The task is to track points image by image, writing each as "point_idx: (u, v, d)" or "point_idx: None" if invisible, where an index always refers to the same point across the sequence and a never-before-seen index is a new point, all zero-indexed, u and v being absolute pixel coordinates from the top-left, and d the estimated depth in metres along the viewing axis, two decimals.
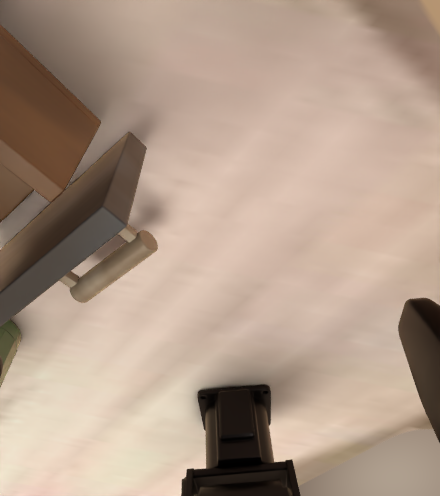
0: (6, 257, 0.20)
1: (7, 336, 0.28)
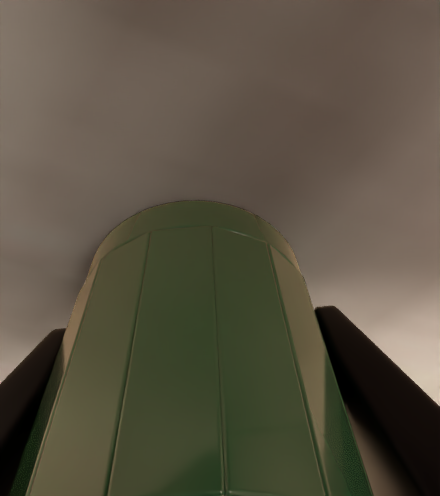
0: None
1: None
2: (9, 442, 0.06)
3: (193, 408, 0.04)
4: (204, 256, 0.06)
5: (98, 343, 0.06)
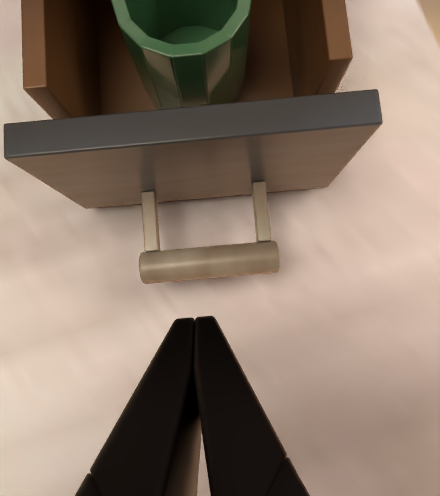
0: None
1: None
2: (178, 428, 0.06)
3: None
4: None
5: None
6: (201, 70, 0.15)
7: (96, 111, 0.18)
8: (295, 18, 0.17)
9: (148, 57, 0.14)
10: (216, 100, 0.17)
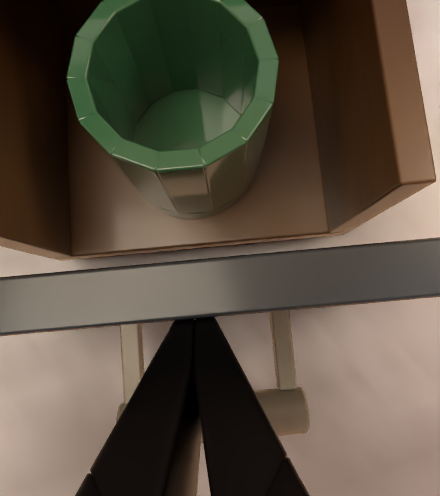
0: None
1: None
2: (178, 428, 0.06)
3: None
4: None
5: None
6: (201, 179, 0.10)
7: (61, 204, 0.14)
8: (328, 86, 0.13)
9: (123, 165, 0.10)
10: (222, 198, 0.13)
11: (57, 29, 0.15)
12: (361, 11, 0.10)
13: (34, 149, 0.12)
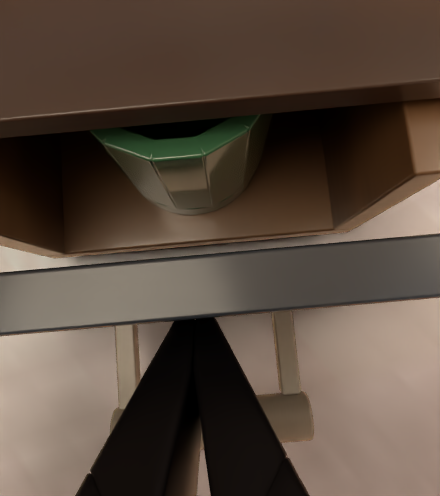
0: None
1: None
2: (178, 428, 0.06)
3: None
4: None
5: None
6: (200, 171, 0.09)
7: (53, 199, 0.13)
8: None
9: (117, 155, 0.09)
10: (221, 193, 0.12)
11: None
12: None
13: (24, 140, 0.11)
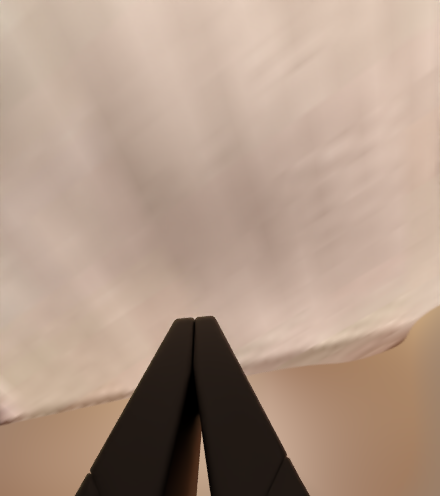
0: None
1: None
2: (178, 428, 0.06)
3: None
4: None
5: None
6: None
7: None
8: None
9: None
10: None
11: None
12: None
13: None
